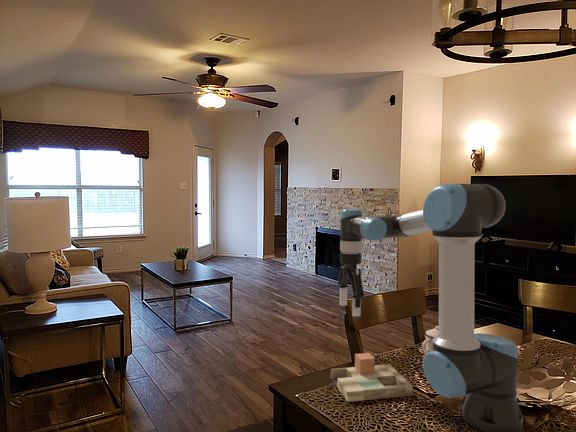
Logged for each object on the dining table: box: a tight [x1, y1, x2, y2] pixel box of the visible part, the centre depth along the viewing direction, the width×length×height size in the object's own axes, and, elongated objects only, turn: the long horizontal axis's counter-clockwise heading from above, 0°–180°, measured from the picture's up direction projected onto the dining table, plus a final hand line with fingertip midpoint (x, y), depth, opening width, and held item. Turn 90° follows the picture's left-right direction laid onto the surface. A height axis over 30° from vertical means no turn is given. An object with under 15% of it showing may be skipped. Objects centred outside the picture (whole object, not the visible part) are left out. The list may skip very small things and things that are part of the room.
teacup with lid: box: [421, 325, 439, 356], centre depth 165 cm, size 12×9×12 cm
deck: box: [330, 363, 414, 403], centre depth 141 cm, size 17×21×3 cm
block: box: [354, 352, 376, 375], centre depth 146 cm, size 5×5×5 cm
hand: (349, 310), depth 159 cm, fingers open, 13 cm apart
